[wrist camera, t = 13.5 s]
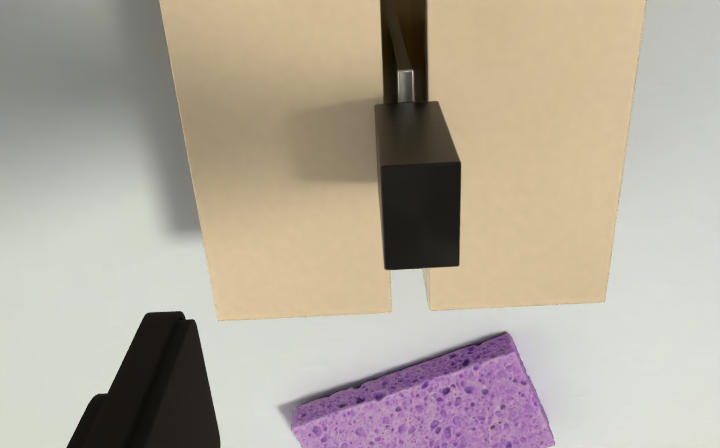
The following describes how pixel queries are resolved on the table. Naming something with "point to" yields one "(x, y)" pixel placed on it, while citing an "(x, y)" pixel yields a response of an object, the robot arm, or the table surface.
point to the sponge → (434, 406)
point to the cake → (358, 145)
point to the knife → (415, 172)
